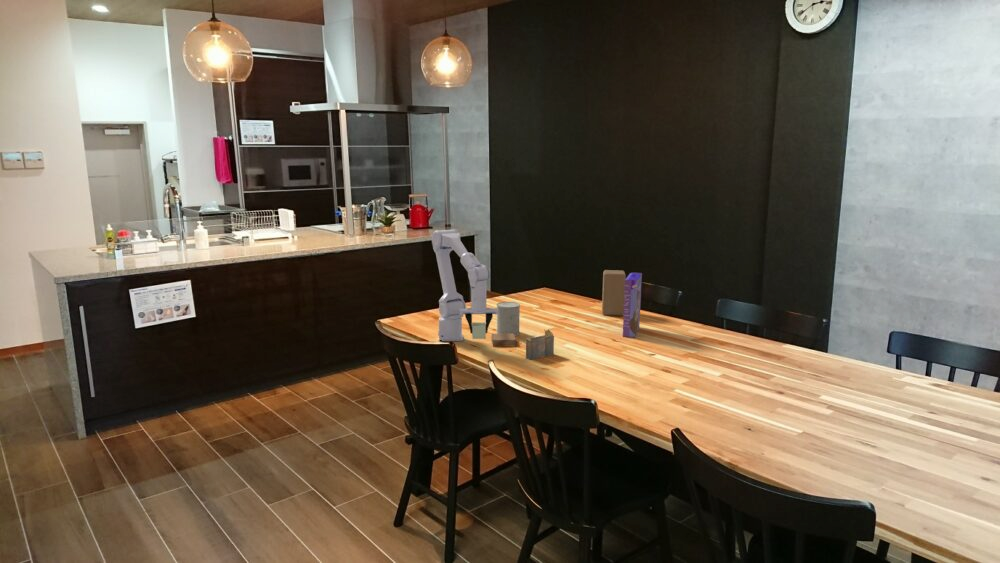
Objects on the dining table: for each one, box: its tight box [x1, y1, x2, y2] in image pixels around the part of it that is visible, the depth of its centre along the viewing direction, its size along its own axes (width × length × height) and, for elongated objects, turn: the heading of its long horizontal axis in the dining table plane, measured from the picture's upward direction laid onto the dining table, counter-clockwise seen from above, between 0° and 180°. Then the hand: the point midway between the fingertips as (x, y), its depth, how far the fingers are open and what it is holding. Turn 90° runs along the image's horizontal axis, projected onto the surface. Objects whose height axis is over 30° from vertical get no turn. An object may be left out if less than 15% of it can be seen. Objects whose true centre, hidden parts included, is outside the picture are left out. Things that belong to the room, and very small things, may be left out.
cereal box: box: [622, 272, 643, 339], centre depth 263 cm, size 17×5×24 cm, turn 161°
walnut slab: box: [491, 333, 517, 347], centre depth 248 cm, size 9×9×2 cm
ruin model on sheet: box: [525, 329, 555, 361], centre depth 231 cm, size 11×3×10 cm, turn 128°
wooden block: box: [601, 269, 627, 317], centre depth 294 cm, size 10×10×20 cm
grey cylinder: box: [496, 301, 521, 336], centre depth 261 cm, size 10×10×12 cm
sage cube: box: [471, 321, 487, 340], centre depth 239 cm, size 5×5×5 cm
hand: (478, 332), depth 239 cm, fingers closed on sage cube, 5 cm apart
